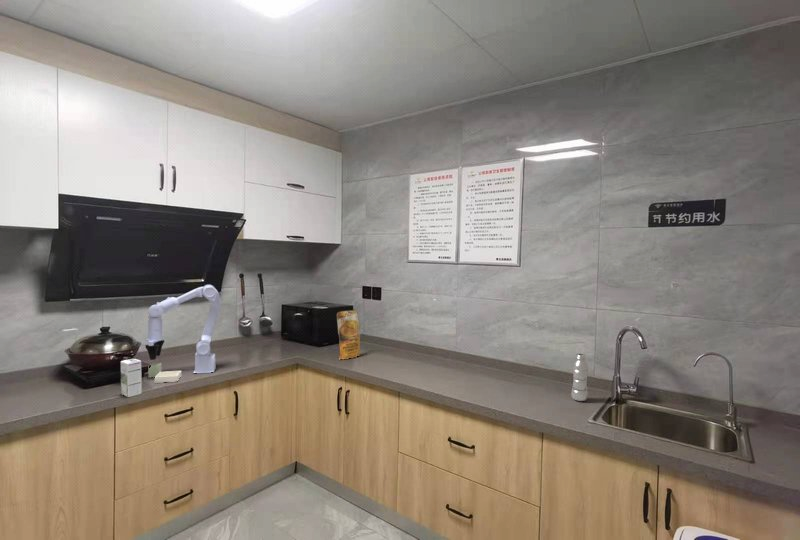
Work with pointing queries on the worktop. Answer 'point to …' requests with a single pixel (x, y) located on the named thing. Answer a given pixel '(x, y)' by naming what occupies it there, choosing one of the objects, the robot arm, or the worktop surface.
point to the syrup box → (131, 377)
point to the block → (155, 369)
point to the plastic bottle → (580, 378)
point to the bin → (167, 376)
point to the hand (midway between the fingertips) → (155, 357)
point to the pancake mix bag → (348, 334)
